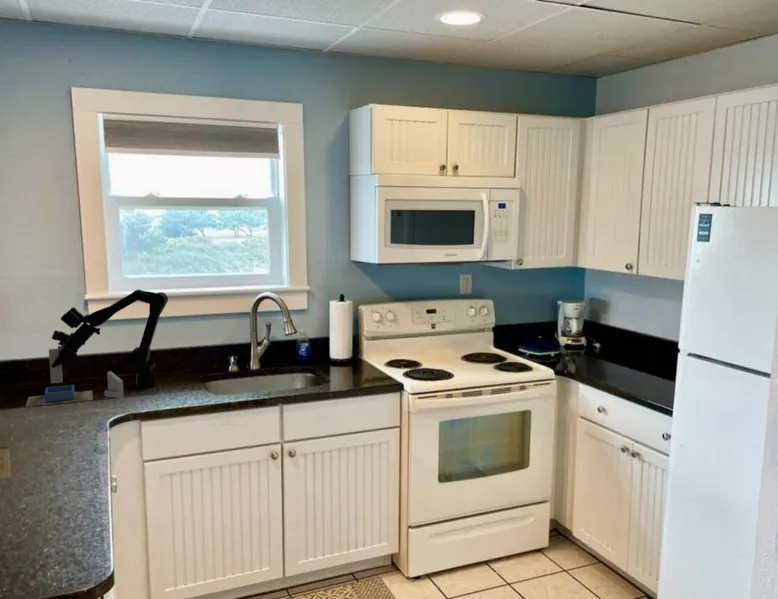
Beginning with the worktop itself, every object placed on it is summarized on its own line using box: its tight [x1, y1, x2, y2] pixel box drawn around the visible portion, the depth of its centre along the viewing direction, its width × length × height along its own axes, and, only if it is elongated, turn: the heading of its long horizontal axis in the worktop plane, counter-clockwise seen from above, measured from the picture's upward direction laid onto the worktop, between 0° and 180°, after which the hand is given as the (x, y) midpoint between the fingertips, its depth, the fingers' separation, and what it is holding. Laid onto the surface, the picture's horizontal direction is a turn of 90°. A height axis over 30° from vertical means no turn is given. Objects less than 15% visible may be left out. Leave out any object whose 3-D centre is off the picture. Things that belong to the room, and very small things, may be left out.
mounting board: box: [25, 390, 94, 408], centre depth 242 cm, size 22×14×1 cm, turn 116°
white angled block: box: [104, 370, 125, 400], centre depth 246 cm, size 4×10×9 cm, turn 68°
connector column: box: [48, 348, 64, 384], centre depth 255 cm, size 4×4×13 cm
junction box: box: [44, 384, 76, 403], centre depth 242 cm, size 10×10×4 cm
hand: (51, 365), depth 255 cm, fingers closed on connector column, 4 cm apart
